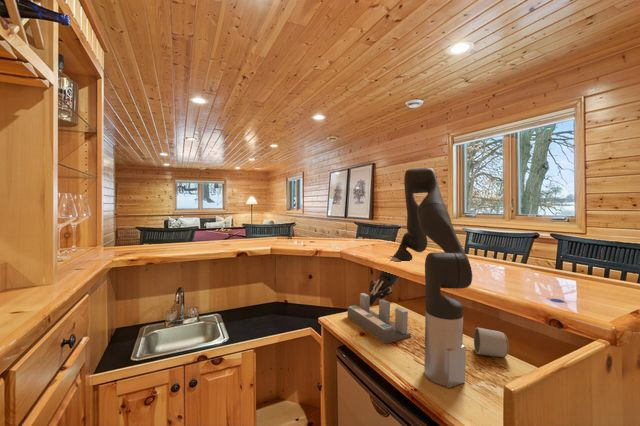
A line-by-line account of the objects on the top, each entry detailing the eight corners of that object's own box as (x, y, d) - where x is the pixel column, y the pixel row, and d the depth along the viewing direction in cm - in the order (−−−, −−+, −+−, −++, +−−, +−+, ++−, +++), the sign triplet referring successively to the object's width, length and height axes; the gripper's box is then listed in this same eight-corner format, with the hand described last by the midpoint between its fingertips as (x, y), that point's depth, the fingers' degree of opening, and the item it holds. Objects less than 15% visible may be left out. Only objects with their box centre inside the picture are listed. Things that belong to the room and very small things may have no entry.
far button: (369, 314, 117) (369, 295, 117) (365, 315, 116) (365, 296, 116) (363, 310, 121) (364, 292, 120) (359, 311, 120) (359, 293, 119)
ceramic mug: (510, 362, 85) (510, 336, 85) (479, 358, 87) (479, 333, 87) (497, 345, 96) (498, 322, 95) (470, 342, 98) (470, 319, 97)
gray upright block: (389, 322, 110) (390, 302, 109) (385, 323, 109) (385, 303, 108) (383, 318, 113) (383, 299, 113) (378, 319, 112) (379, 299, 112)
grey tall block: (407, 332, 101) (407, 311, 101) (402, 333, 100) (403, 312, 100) (399, 328, 105) (399, 307, 104) (395, 329, 104) (395, 308, 103)
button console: (410, 337, 101) (410, 323, 101) (384, 343, 96) (384, 329, 96) (370, 312, 123) (370, 301, 122) (347, 317, 118) (347, 305, 118)
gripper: (378, 262, 128) (354, 293, 124) (398, 268, 117) (372, 303, 112) (387, 272, 131) (364, 303, 126) (408, 280, 119) (383, 314, 114)
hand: (368, 303), depth 119 cm, fingers closed
